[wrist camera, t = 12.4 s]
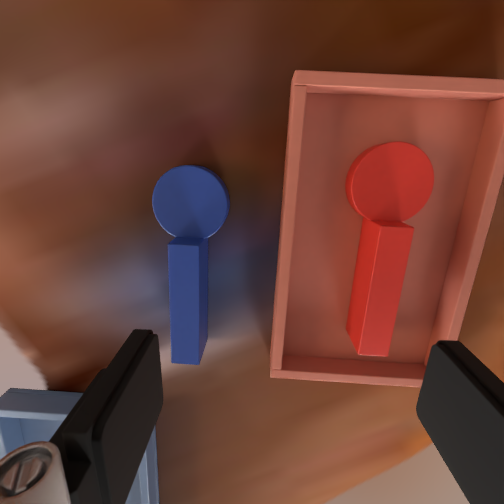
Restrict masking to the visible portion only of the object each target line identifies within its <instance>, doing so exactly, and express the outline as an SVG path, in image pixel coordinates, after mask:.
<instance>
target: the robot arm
mask: <svg viewBox="0 0 504 504" xmlns="http://www.w3.org/2000/svg"><path fill="white" fill-rule="evenodd" d="M162 404H163V388H162V376H161V364H160V352H159V340H158V335H157V334H153V331H152V330H142V329H135V330H133V331H132V333H131V334H130V336H129V337H128V339H127V340H126V341H125V343H124V344H123V346H122V347H121V348H120V350H119V351H118V353H117V354H116V356H115V357H114V358H113V360H112V361H111V363H110V364H109V366H108V367H107V368H106V369H102V370H101V371H100V372H99V373H98V374H97V375H96V377H95V378H94V379H93V381H92V382H91V384H90V385H89V386H88V388H87V389H86V391H85V392H84V393H83V395H82V396H81V397H80V399H79V400H78V402H77V403H76V404H75V406H74V407H73V408H72V410H71V411H70V413H69V414H68V415H67V417H66V418H65V419H64V421H63V422H62V424H61V425H60V426H59V428H58V429H57V430H56V432H55V433H54V435H53V436H52V437H51V439H50V440H49V441H48V442H47V441H38V442H31V443H29V444H26V445H23V446H20V447H19V448H17V449H15V450H13V451H11V452H10V453H8V454H7V455H5V456H4V457H3V458H2V459H0V504H125V503H126V500H127V498H128V495H129V492H130V490H131V487H132V484H133V482H134V479H135V477H136V474H137V471H138V469H139V466H140V463H141V461H142V458H143V456H144V453H145V450H146V448H147V445H148V442H149V440H150V437H151V434H152V432H153V429H154V427H155V424H156V421H157V419H158V416H159V413H160V411H161V408H162ZM416 411H417V415H418V418H419V420H420V421H421V423H422V425H423V426H424V428H425V430H426V431H427V433H428V435H429V436H430V438H431V440H432V441H433V443H434V445H435V446H436V448H437V450H438V451H439V453H440V455H441V456H442V458H443V460H444V461H445V463H446V465H447V466H448V468H449V470H450V471H451V473H452V475H453V476H454V478H455V480H456V481H457V483H458V485H459V486H460V488H461V490H462V491H463V493H464V495H465V496H466V498H467V500H468V501H469V503H470V504H504V383H503V382H502V381H501V380H500V379H499V378H498V377H497V376H496V375H495V374H494V373H493V372H492V371H490V370H489V369H488V368H487V367H486V366H485V365H484V364H483V363H482V362H481V361H480V360H479V359H478V358H477V357H476V356H475V355H474V354H472V353H471V352H470V351H469V350H468V349H467V348H466V347H465V346H464V345H463V344H462V343H461V342H459V341H453V340H439V341H437V343H436V344H434V345H432V347H431V350H430V354H429V358H428V362H427V366H426V370H425V374H424V378H423V382H422V386H421V390H420V394H419V398H418V402H417V406H416Z"/></svg>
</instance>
